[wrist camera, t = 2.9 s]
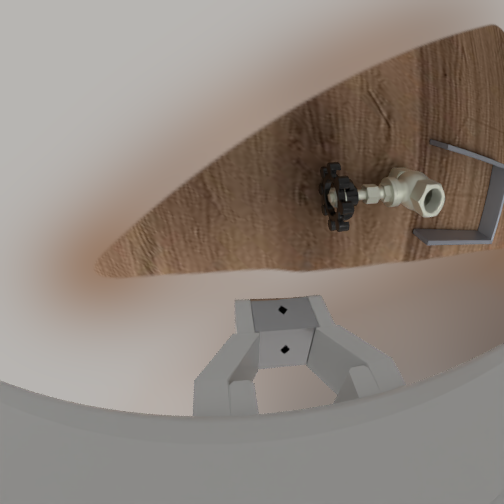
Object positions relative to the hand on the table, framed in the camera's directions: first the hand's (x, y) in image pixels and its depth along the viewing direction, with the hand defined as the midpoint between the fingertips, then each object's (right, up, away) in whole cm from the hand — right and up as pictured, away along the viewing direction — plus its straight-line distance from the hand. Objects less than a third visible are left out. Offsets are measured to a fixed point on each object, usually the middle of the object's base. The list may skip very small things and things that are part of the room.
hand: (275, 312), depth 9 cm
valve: (+12, +10, +18) cm, 23 cm away
